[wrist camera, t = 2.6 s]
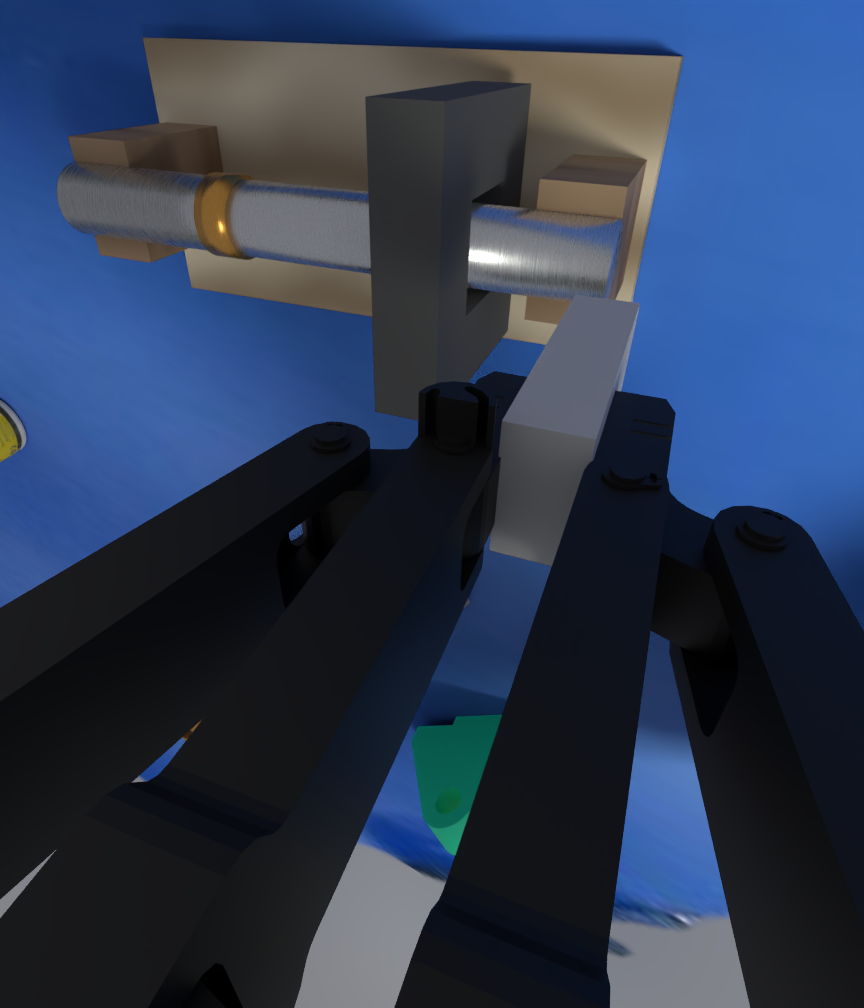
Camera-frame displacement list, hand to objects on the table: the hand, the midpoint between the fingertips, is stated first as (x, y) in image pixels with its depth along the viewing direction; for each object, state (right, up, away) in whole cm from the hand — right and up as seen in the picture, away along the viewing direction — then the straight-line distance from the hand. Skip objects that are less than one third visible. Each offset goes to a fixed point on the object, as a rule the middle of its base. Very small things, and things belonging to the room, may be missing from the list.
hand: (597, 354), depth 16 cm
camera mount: (+2, -24, +40) cm, 46 cm away
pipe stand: (-6, +12, +17) cm, 21 cm away
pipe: (-8, +9, +12) cm, 17 cm away
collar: (-1, +9, +13) cm, 16 cm away
